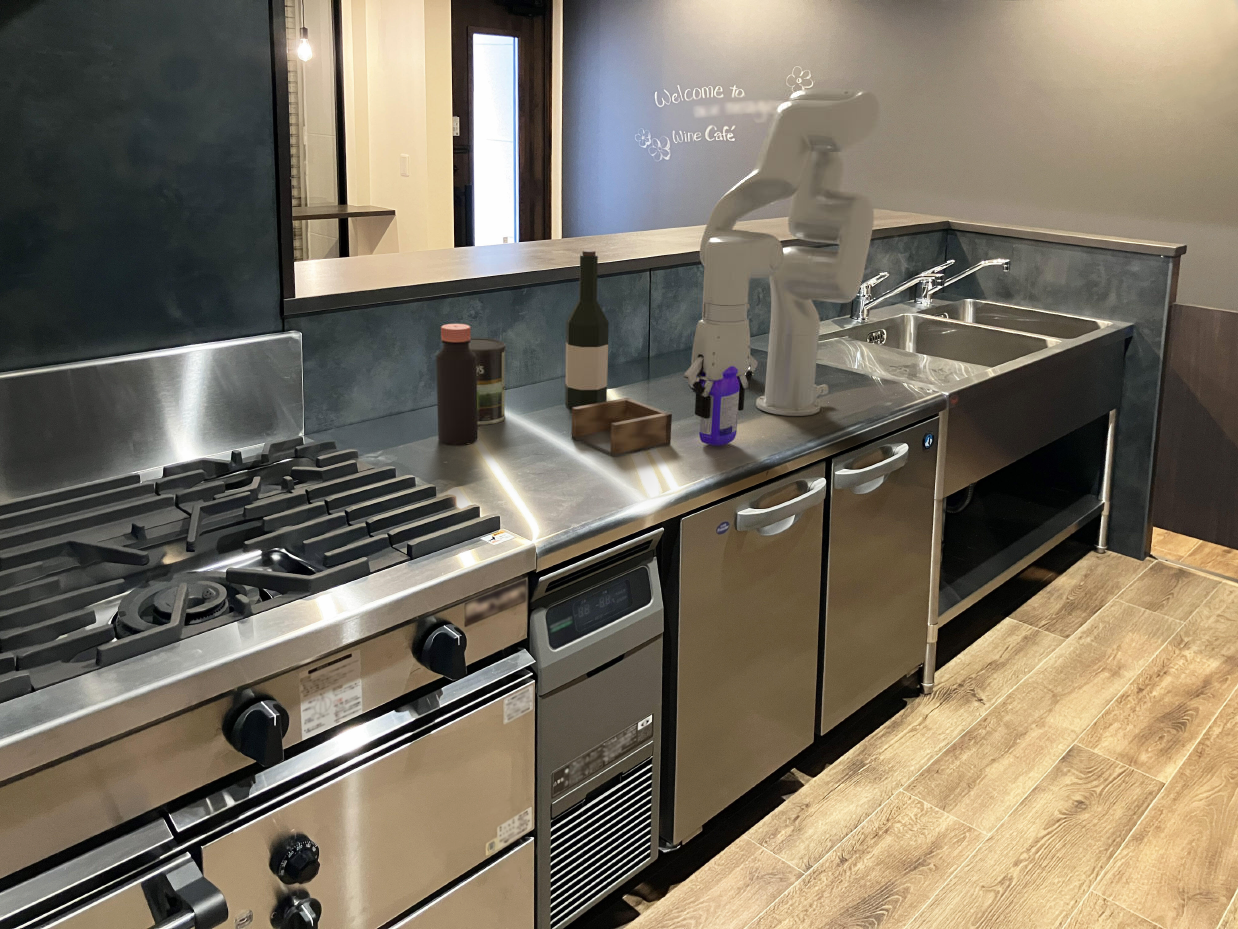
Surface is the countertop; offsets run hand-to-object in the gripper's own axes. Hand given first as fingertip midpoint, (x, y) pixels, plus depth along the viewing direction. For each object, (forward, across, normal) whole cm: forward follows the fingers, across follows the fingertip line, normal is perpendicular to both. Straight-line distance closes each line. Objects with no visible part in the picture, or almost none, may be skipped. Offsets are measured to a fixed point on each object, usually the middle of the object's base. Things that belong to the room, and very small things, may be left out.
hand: (719, 412), depth 181 cm
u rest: (+6, +13, -11) cm, 18 cm away
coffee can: (+6, +27, -37) cm, 46 cm away
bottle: (+6, 0, 0) cm, 6 cm away
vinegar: (+6, +37, -27) cm, 46 cm away
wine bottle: (+6, +5, -33) cm, 34 cm away
